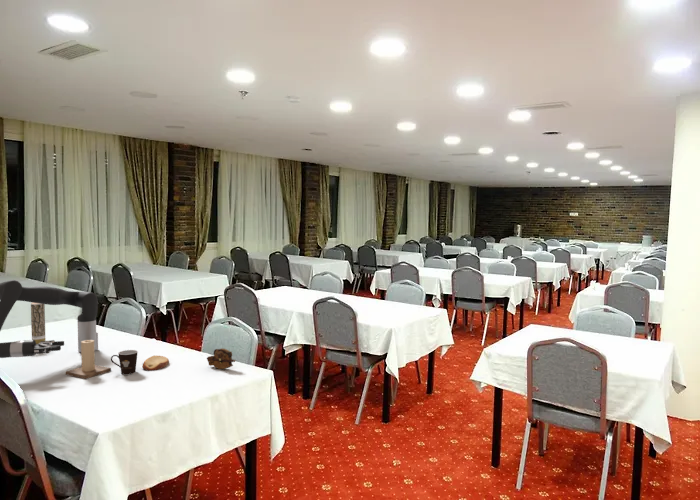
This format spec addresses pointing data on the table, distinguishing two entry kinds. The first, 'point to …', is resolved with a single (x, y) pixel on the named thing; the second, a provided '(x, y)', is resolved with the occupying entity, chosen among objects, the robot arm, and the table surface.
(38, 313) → the paper tube
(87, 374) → the stand
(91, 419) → the table surface
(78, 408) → the table surface
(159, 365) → the pita bread
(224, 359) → the wooden carving
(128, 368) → the coffee mug
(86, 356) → the cylinder
